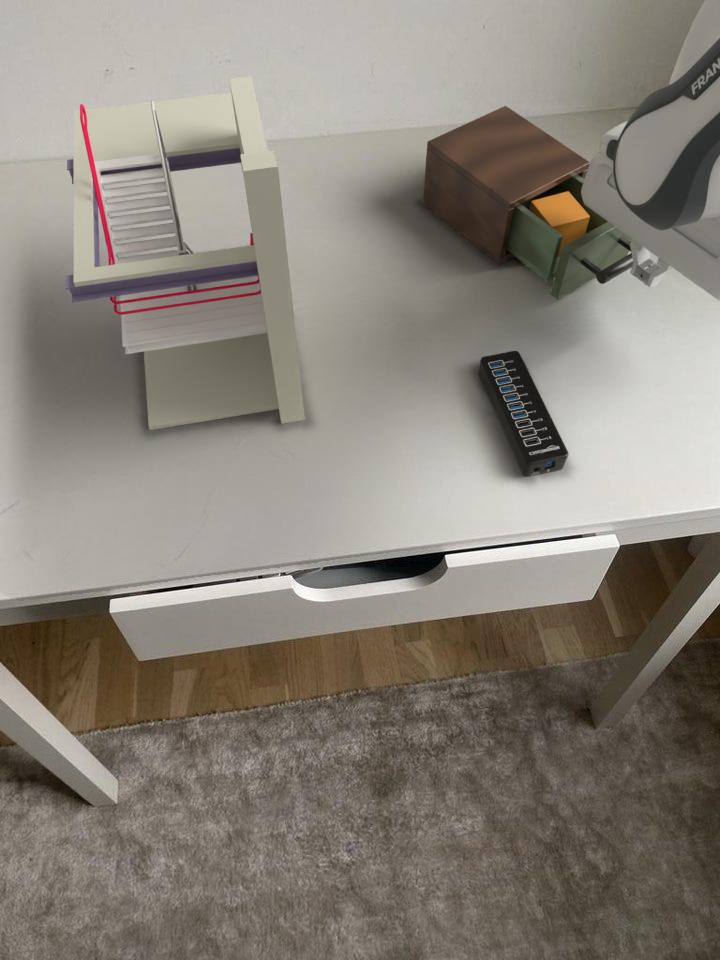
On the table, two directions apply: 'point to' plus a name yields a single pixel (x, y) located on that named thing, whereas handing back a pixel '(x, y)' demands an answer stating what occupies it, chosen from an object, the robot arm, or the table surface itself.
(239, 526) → the table surface
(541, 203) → the block
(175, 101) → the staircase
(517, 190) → the cabinet
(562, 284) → the drawer
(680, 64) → the robot arm
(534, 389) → the multiport hub
